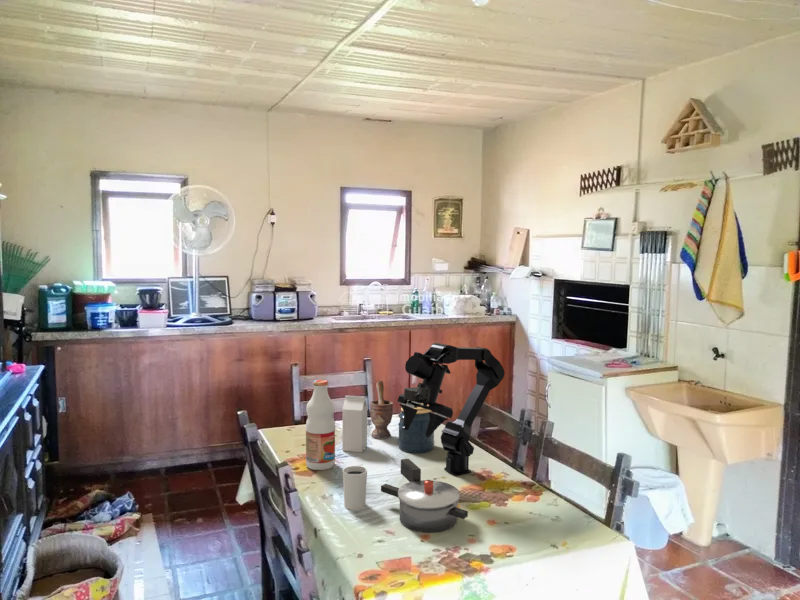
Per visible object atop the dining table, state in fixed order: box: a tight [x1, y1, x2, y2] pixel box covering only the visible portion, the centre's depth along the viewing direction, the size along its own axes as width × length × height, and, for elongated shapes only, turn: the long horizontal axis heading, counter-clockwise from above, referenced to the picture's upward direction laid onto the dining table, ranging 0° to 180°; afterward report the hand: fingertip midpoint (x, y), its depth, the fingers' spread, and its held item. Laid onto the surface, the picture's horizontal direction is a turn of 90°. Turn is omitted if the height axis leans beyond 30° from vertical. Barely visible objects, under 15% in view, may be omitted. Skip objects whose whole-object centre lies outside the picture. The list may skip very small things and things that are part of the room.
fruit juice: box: [305, 379, 336, 471], centre depth 193 cm, size 9×9×28 cm
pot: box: [380, 483, 469, 534], centre depth 157 cm, size 15×27×6 cm, turn 51°
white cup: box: [342, 465, 368, 511], centre depth 164 cm, size 7×7×10 cm
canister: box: [397, 403, 435, 454], centre depth 212 cm, size 13×13×18 cm
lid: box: [397, 458, 460, 510], centre depth 160 cm, size 16×25×4 cm, turn 21°
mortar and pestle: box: [369, 380, 394, 440], centre depth 226 cm, size 12×9×20 cm
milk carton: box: [341, 395, 368, 453], centre depth 210 cm, size 7×7×19 cm
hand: (416, 433), depth 177 cm, fingers open, 9 cm apart
